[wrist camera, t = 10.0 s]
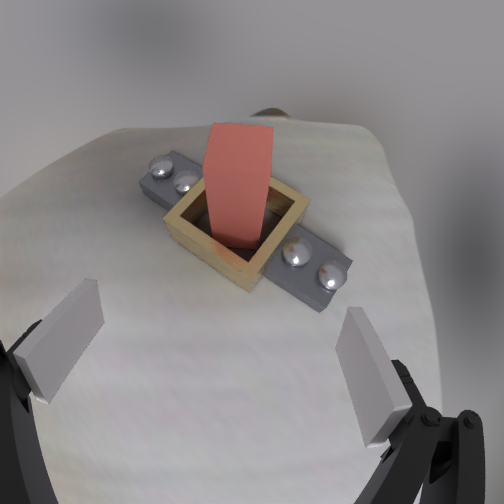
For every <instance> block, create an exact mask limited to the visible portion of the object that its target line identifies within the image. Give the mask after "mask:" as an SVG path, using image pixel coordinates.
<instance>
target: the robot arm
mask: <svg viewBox="0 0 504 504" xmlns="http://www.w3.org/2000/svg"><path fill="white" fill-rule="evenodd" d="M104 323H105V322H104V318H103V313H102V307H101V302H100V296H99V290H98V284H97V280H91V279H85V280H83V281H82V282H81V283H80V284H79V285H78V286H77V287H76V288H75V289H74V290H73V291H72V292H71V293H70V294H69V295H68V296H67V297H66V298H64V299H63V300H62V301H61V302H60V303H59V304H58V305H57V306H56V307H55V308H54V309H53V310H52V311H51V312H50V313H49V314H48V315H47V316H46V317H45V318H44V319H43V320H39V321H37V322H36V323H34V324H32V325H31V326H30V327H29V328H28V329H27V332H25V333H24V334H23V335H22V337H20V338H19V339H18V340H17V341H16V342H15V343H14V344H13V346H12V347H11V348H10V349H9V350H8V351H7V352H6V351H5V349H4V346H3V344H2V342H1V340H0V504H58V501H57V499H56V496H55V494H54V491H53V488H52V485H51V482H50V479H49V476H48V473H47V470H46V467H45V463H44V460H43V456H42V452H41V449H40V445H39V440H38V436H37V431H36V427H35V422H34V416H33V411H32V404H31V399H30V397H29V393H30V392H31V390H32V392H33V394H34V396H35V397H36V399H37V400H39V401H42V402H44V403H46V404H48V405H49V404H50V402H51V400H52V399H53V397H54V396H55V394H56V393H57V391H58V389H59V388H60V386H61V385H62V383H63V382H64V380H65V379H66V377H67V376H68V374H69V373H70V371H71V370H72V368H73V367H74V365H75V364H76V362H77V361H78V359H79V358H80V356H81V355H82V353H83V352H84V351H85V349H86V348H87V346H88V345H89V343H90V342H91V341H92V339H93V338H94V336H95V335H96V334H97V332H98V331H99V330H100V328H101V327H102V325H103V324H104ZM335 349H336V352H337V355H338V358H339V361H340V364H341V367H342V370H343V373H344V377H345V380H346V383H347V386H348V389H349V393H350V396H351V399H352V402H353V406H354V409H355V412H356V416H357V419H358V423H359V426H360V430H361V433H362V437H363V440H364V444H365V447H366V448H370V447H376V446H382V445H383V444H384V443H385V441H386V440H387V439H388V438H389V441H390V444H391V445H390V446H389V447H388V449H387V450H386V451H385V452H384V453H383V454H382V455H381V457H380V458H382V460H381V461H380V463H379V465H378V467H377V468H376V470H375V472H374V473H373V475H372V477H371V478H370V480H369V482H368V483H367V485H366V486H365V488H364V489H363V491H362V493H361V494H360V496H359V497H358V498H357V500H356V501H355V503H354V504H413V503H414V501H415V499H416V496H417V494H418V492H419V490H420V488H421V485H422V483H423V486H422V492H421V498H420V503H419V504H484V501H485V450H484V436H483V427H482V421H481V418H480V417H479V415H478V414H477V413H475V412H474V411H471V410H464V411H463V412H461V413H460V414H459V416H458V417H457V418H451V417H442V415H441V414H440V413H439V411H438V410H436V409H434V408H432V407H427V406H426V404H425V402H424V400H423V398H422V396H421V394H420V392H419V390H418V388H417V386H416V385H415V383H414V381H413V379H412V377H410V373H409V371H408V370H407V368H406V366H404V365H403V364H402V363H401V362H400V361H399V360H390V358H389V356H388V354H387V352H386V350H385V349H384V347H383V345H382V343H381V341H380V339H379V337H378V336H377V334H376V332H375V330H374V328H373V326H372V325H371V323H370V321H369V319H368V317H367V316H366V314H365V312H364V310H363V308H362V307H348V310H347V313H346V316H345V320H344V323H343V326H342V329H341V332H340V336H339V339H338V342H337V345H336V348H335Z"/></svg>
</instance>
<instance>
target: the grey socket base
mask: <svg viewBox="0 0 504 504" xmlns="http://www.w3.org/2000/svg"><path fill="white" fill-rule="evenodd" d="M149 170H150V171H149V172H148V173H147V174H146V175H145V176H144V177H143V178H142V179H141V180H140V181H139V184H140V187H141V189H142V191H143V193H144V194H145V195H147V196H148V197H149V198H151V199H152V200H154V201H155V202H157V203H158V204H159V205H161V206H162V207H164V208H165V209H167V210H168V211H169V212H168V214H167V215H166V216H165V217H164V218H163V220H164V222H165V224H166V227H167V229H168V231H169V234H170V236H171V237H172V238H173V239H174V240H176V241H177V242H178V243H180V244H181V245H183V246H184V247H185V248H187V249H188V250H189V251H191V252H192V253H194V254H195V255H196V256H198V257H199V258H201V259H202V260H203V261H205V262H206V263H208V264H209V265H210V266H212V267H213V268H215V269H216V270H217V271H219V272H220V273H222V274H223V275H225V276H226V277H227V278H229V279H230V280H232V281H233V282H235V283H236V284H237V285H239V286H240V287H242V288H243V289H245V290H246V291H248V292H249V293H250V291H251V290H252V289H253V287H254V286H255V285H256V283H257V282H258V281H259V279H260V278H261V277H262V275H263V276H265V277H266V278H268V279H269V280H271V281H272V282H274V283H275V284H277V285H278V286H280V287H281V288H283V289H284V290H286V291H287V292H289V293H290V294H292V295H293V296H295V297H296V298H298V299H299V300H301V301H302V302H304V303H305V304H307V305H308V306H310V307H311V308H313V309H314V310H316V311H317V312H319V313H320V312H321V311H323V310H324V309H325V308H326V307H327V306H328V304H329V302H330V301H331V299H332V297H333V296H334V294H335V292H336V290H337V289H339V288H340V287H341V286H342V285H344V284H345V282H346V280H347V271H348V269H349V267H350V265H351V264H352V262H353V261H352V260H351V259H349V258H348V257H346V256H345V255H343V254H342V253H340V252H339V251H337V250H336V249H334V248H333V247H331V246H330V245H328V244H327V243H325V242H324V241H322V240H321V239H319V238H318V237H316V236H314V235H313V234H311V233H310V232H308V231H307V230H305V229H304V228H302V227H300V226H299V224H300V223H301V221H302V220H303V217H304V215H305V213H306V210H307V208H308V205H309V203H310V199H309V198H307V197H305V196H304V195H302V194H300V193H299V192H297V191H295V190H294V189H292V188H290V187H289V186H287V185H285V184H284V183H282V182H280V181H278V180H277V179H275V178H273V177H270V183H269V188H268V194H267V200H266V206H265V207H267V208H268V209H270V210H272V211H273V212H275V213H276V214H278V215H280V216H281V217H283V218H282V220H281V221H280V222H279V223H278V225H277V226H276V227H275V229H274V230H273V231H272V233H271V234H270V235H269V237H268V238H267V239H266V240H265V242H264V243H263V244H262V246H261V247H260V248H259V250H258V251H257V252H256V253H255V255H254V256H253V257H252V259H251V260H250V261H249V263H248V262H247V261H245V260H244V259H242V258H241V257H239V256H238V255H236V254H235V253H233V252H232V251H230V250H229V249H227V248H226V247H224V246H223V245H221V244H220V243H218V242H217V241H216V240H214V239H213V238H211V237H210V236H208V235H207V234H205V233H204V232H202V231H201V230H199V229H198V228H196V227H195V226H194V225H195V224H196V223H197V222H198V221H199V219H200V218H201V217H202V216H203V215H204V214H205V213H206V212H207V211H208V204H207V197H206V190H205V183H204V175H203V168H202V167H200V166H199V165H197V164H195V163H193V162H192V161H190V160H188V159H186V158H184V157H183V156H181V155H179V154H177V153H175V152H173V151H171V152H170V153H169V154H168V155H167V156H159V157H156V158H155V159H153V160H152V161H151V162H150V164H149Z"/></svg>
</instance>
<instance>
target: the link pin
mask: <svg viewBox="0 0 504 504" xmlns="http://www.w3.org/2000/svg"><path fill="white" fill-rule="evenodd" d="M272 144H273V127H265V126H254V125H241V124H226V123H213V125H212V129H211V133H210V137H209V141H208V145H207V149H206V153H205V158H204V162H203V166H202V168H203V175H204V183H205V190H206V197H207V204H208V211H209V217H210V224H211V231H212V237H213V239H214V240H216V241H217V242H218V243H220V244H221V245H223V246H224V247H232V248H243V249H255V250H258V245H259V240H260V234H261V228H262V223H263V217H264V211H265V206H266V200H267V194H268V188H269V183H270V177H271V168H272Z"/></svg>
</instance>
